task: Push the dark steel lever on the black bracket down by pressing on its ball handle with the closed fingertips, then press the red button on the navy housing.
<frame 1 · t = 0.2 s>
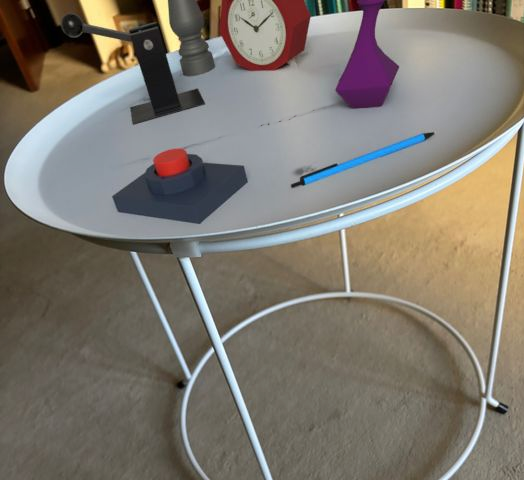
candle holder: (200, 76, 111), on the table
purple vase: (369, 103, 83), on the table
lever: (109, 33, 89), point 13 cm above the table, hinge at 25.0°
pen: (365, 164, 69), on the table
button box: (182, 197, 72), on the table
alarm clock: (275, 69, 105), on the table
bracket: (168, 112, 98), on the table
button: (171, 162, 69), point 4 cm above the table, slide at 0.1 cm
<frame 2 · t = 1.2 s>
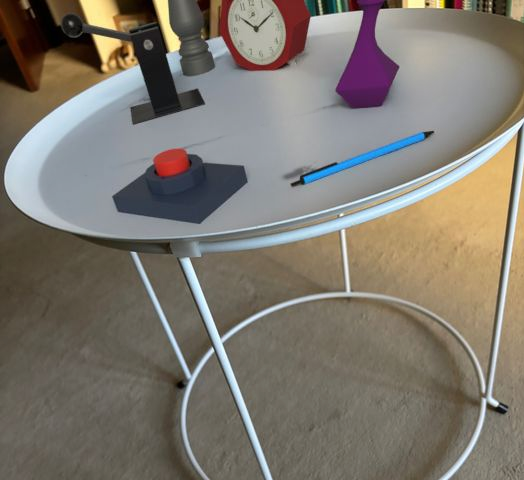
nothing on the table moved.
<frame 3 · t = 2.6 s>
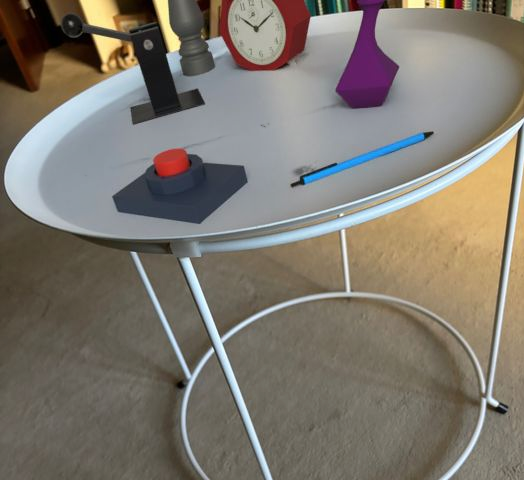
nothing on the table moved.
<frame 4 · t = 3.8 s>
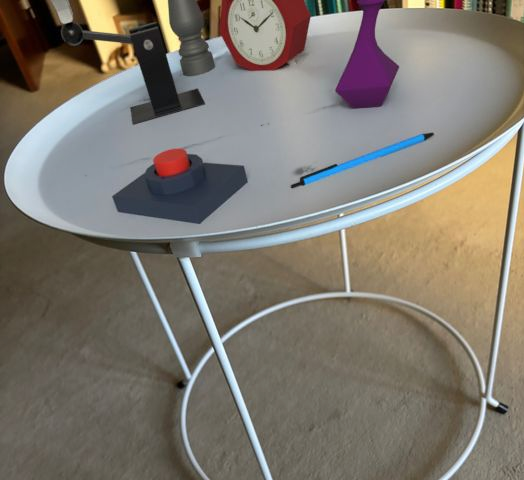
hand: (68, 21, 87), 16 cm above the table, tool pointing down, fingers closed
lever: (109, 37, 90), point 13 cm above the table, hinge at 19.3°
everything else where it was.
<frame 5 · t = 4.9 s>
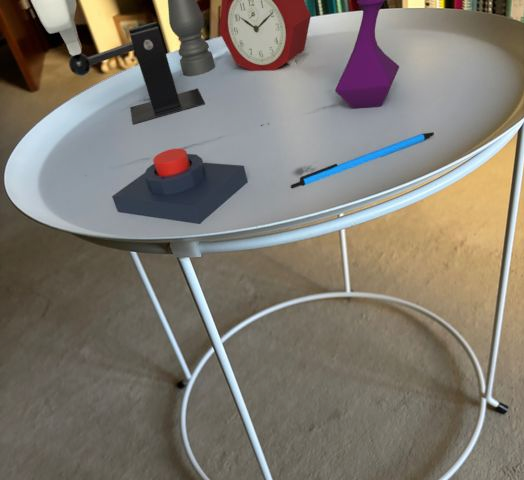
hand: (76, 52, 90), 12 cm above the table, tool pointing down, fingers closed, pressing on lever
lever: (112, 53, 91), point 11 cm above the table, hinge at -3.3°, touching gripper
everything else where it was.
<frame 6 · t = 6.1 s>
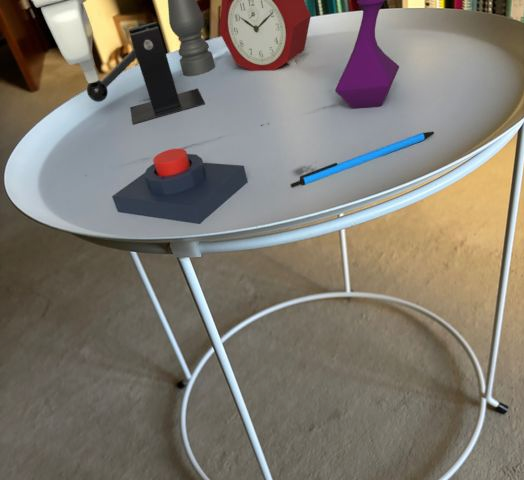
hand: (93, 80, 93), 8 cm above the table, tool pointing down, fingers closed, pressing on lever
lever: (121, 66, 92), point 9 cm above the table, hinge at -26.4°, touching gripper
everything else where it was.
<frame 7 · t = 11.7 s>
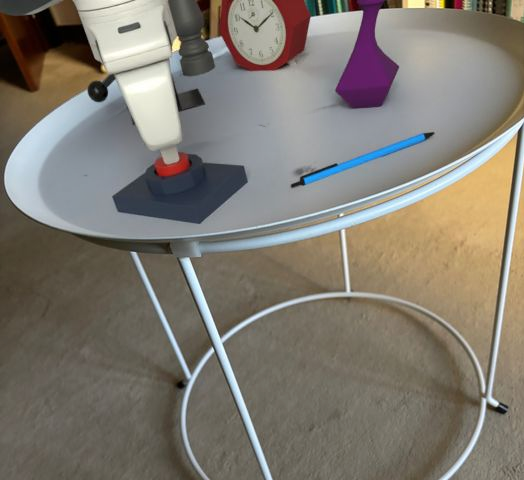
hand: (171, 159, 69), 5 cm above the table, tool pointing down, fingers closed, pressing on button
lever: (121, 67, 92), point 8 cm above the table, hinge at -27.0°
button: (172, 166, 69), point 4 cm above the table, slide at -0.4 cm, touching gripper
everything else where it was.
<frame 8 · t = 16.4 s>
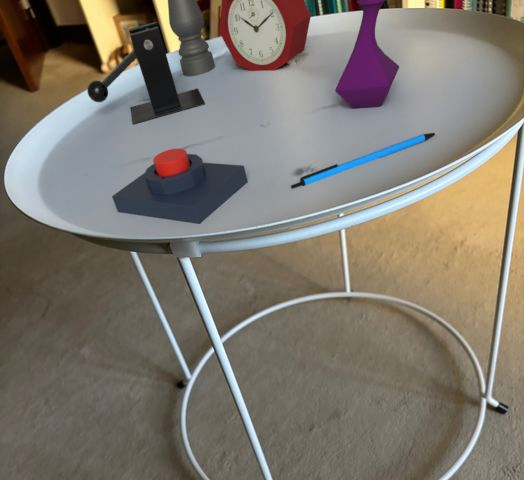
button: (171, 162, 69), point 4 cm above the table, slide at 0.1 cm
everything else where it was.
at the end: lever at -27° (first picture: +25°); button pushed in 1.0 cm at the most during the clip, back to where it started at the end; button slide at 0.1 cm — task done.
